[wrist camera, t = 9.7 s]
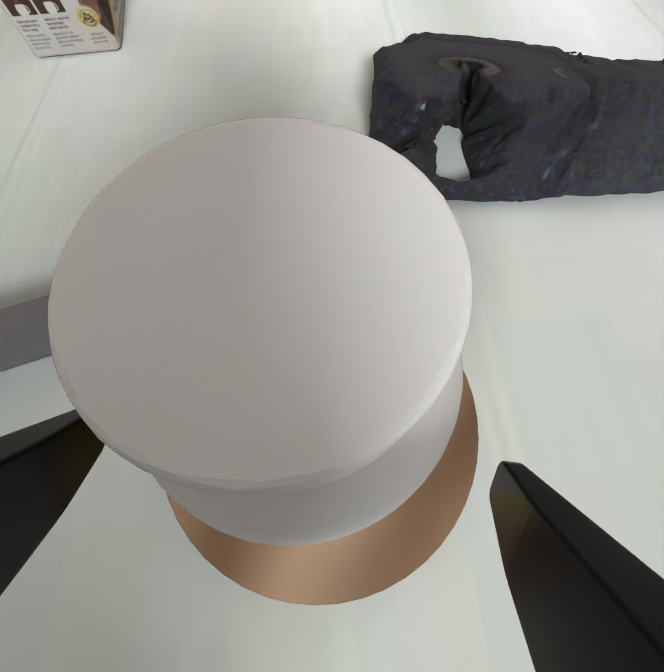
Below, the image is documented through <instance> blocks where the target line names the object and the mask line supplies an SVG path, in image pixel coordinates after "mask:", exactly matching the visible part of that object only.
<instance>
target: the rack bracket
mask: <svg viewBox="0 0 664 672" xmlns="http://www.w3.org/2000/svg"><path fill="white" fill-rule="evenodd" d="M49 296H50V295H48V296H45V297H42V298H38V299H35V300H32V301H28V302H25V303H22V304H18V305H15V306H12V307H8V308H5V309H2V310H0V372H1V371H4V370H7V369H10V368H13V367H16V366H20V365H23V364H26V363H29V362H32V361H35V360H38V359H41V358H45V357H48V356H51V355H52V351H51V347H50V338H49V328H48V302H49Z"/></svg>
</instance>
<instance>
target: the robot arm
mask: <svg viewBox="0 0 664 672" xmlns="http://www.w3.org/2000/svg"><path fill="white" fill-rule="evenodd" d="M104 444H105V443H103V442H102V441H101V440H100V439H99V438H98V437H97V436H96V435H95V434H94V432H93V431H92V430H91V429H90V428H89V426H88V425H87V424H86V423H85V422H84V420H83V419H82V418H81V417H80V415H79V414H78V412H77V410H76V409H75V410H72V411H70V412H67V413H64V414H61V415H59V416H56V417H53V418H51V419H48V420H45V421H43V422H40V423H37V424H34V425H32V426H29V427H26V428H24V429H21V430H18V431H15V432H13V433H10V434H7V435H5V436H2V437H0V596H1V595H2V593H3V592H4V591H5V589H6V588H7V587H8V585H9V584H10V583H11V581H12V580H13V579H14V577H15V576H16V575H17V573H18V572H19V571H20V569H21V568H22V567H23V565H24V564H25V563H26V562H27V560H28V559H29V558H30V556H31V555H32V554H33V552H34V551H35V550H36V548H37V547H38V546H39V544H40V543H41V542H42V540H43V539H44V538H45V536H46V535H47V534H48V532H49V531H50V530H51V528H52V527H53V526H54V524H55V523H56V522H57V520H58V519H59V518H60V516H61V515H62V513H63V512H64V510H65V509H66V507H67V506H68V504H69V503H70V501H71V500H72V498H73V497H74V495H75V493H76V492H77V490H78V489H79V487H80V485H81V484H82V482H83V481H84V479H85V477H86V476H87V474H88V473H89V471H90V469H91V468H92V466H93V465H94V463H95V461H96V460H97V458H98V457H99V455H100V453H101V452H102V450H103V447H104ZM490 503H491V508H492V513H493V518H494V523H495V528H496V532H497V537H498V542H499V547H500V552H501V557H502V562H503V566H504V570H505V574H506V578H507V581H508V585H509V588H510V591H511V595H512V598H513V601H514V604H515V607H516V611H517V614H518V617H519V620H520V623H521V627H522V630H523V633H524V636H525V639H526V643H527V646H528V649H529V652H530V655H531V659H532V662H533V665H534V668H535V671H536V672H664V579H663V578H662V577H660V576H659V575H658V574H657V573H656V572H654V571H653V570H652V569H651V568H649V567H648V566H647V565H646V564H644V563H643V562H642V561H641V560H640V559H638V558H637V557H636V556H635V555H633V554H632V553H631V552H630V551H629V550H627V549H626V548H625V547H624V546H622V545H621V544H620V543H619V542H618V541H616V540H615V539H614V538H613V537H611V536H610V535H609V534H608V533H606V532H605V531H604V530H603V529H602V528H600V527H599V526H598V525H597V524H595V523H594V522H593V521H592V520H591V519H589V518H588V517H587V516H586V515H584V514H583V513H582V512H581V511H580V510H578V509H577V508H576V507H575V506H573V505H572V504H571V503H570V502H568V501H567V500H566V499H565V498H564V497H562V496H561V495H560V494H559V493H557V492H556V491H555V490H554V489H553V488H551V487H550V486H549V485H548V484H546V483H545V482H544V481H543V480H541V479H540V478H539V477H538V476H537V475H535V474H534V473H533V472H532V471H530V470H529V469H528V468H527V467H526V466H524V465H523V464H521V463H517V462H509V461H502V462H500V464H499V465H498V467H497V470H496V473H495V476H494V479H493V482H492V485H491V488H490Z"/></svg>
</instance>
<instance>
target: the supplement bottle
mask: <svg viewBox="0 0 664 672" xmlns="http://www.w3.org/2000/svg"><path fill="white" fill-rule="evenodd" d="M471 307H472V271H471V265H470V260H469V255H468V251H467V247H466V244H465V240H464V237H463V235H462V233H461V230H460V228H459V225H458V223H457V220H456V218H455V216H454V215H453V213H452V211H451V209H450V207H449V206H448V204H447V202H446V200H445V198H444V197H443V195H442V194H441V193H440V192H439V191H438V189H437V188H436V187H435V186H434V185H433V184H432V183H431V181H430V180H429V179H428V178H427V177H426V176H425V175H424V174H423V173H422V172H421V171H420V170H419V169H418V168H417V167H415V166H414V165H413V164H412V163H411V162H410V161H409V160H408V159H406V158H405V157H404V156H402V155H400V154H399V153H397V152H396V151H394V150H392V149H391V148H389V147H388V146H386V145H385V144H383V143H381V142H379V141H377V140H374V139H372V138H370V137H368V136H366V135H363V134H361V133H358V132H356V131H353V130H351V129H347V128H344V127H341V126H337V125H333V124H328V123H324V122H319V121H313V120H306V119H299V118H284V117H261V118H251V119H243V120H235V121H230V122H225V123H220V124H216V125H213V126H210V127H207V128H204V129H201V130H198V131H195V132H192V133H189V134H186V135H183V136H181V137H179V138H176V139H174V140H172V141H170V142H168V143H166V144H164V145H162V146H160V147H158V148H157V149H155V150H153V151H151V152H149V153H148V154H146V155H144V156H142V157H141V158H139V159H138V160H136V161H135V162H134V163H133V164H131V165H130V166H129V167H127V168H126V169H125V170H124V171H122V172H121V173H120V174H118V175H117V176H116V177H115V178H114V179H113V180H112V181H111V182H110V183H109V184H108V185H107V186H106V187H105V188H104V189H103V190H102V191H101V192H100V193H99V194H98V195H97V196H96V198H95V199H94V200H93V201H92V202H91V203H90V205H89V206H88V207H87V208H86V210H85V211H84V212H83V214H82V216H81V218H80V219H79V221H78V223H77V225H76V227H75V228H74V230H73V231H72V233H71V235H70V236H69V238H68V240H67V242H66V244H65V247H64V249H63V251H62V254H61V257H60V259H59V262H58V265H57V268H56V271H55V274H54V276H53V279H52V284H51V290H50V296H49V302H48V328H49V338H50V347H51V351H52V356H53V360H54V364H55V368H56V371H57V374H58V377H59V379H60V381H61V383H62V386H63V388H64V390H65V392H66V394H67V396H68V398H69V400H70V401H71V403H72V404H73V406H74V407H75V409H76V410H77V412H78V414H79V415H80V417H81V418H82V419H83V420H84V422H85V423H86V424H87V425H88V426H89V428H90V429H91V430H92V431H93V432H94V434H95V435H96V436H97V437H98V438H99V439H100V440H101V441H102V442H103V443H105V444H106V445H107V446H108V447H109V448H111V449H112V450H113V451H114V452H116V453H117V454H119V455H120V456H121V457H123V458H124V459H126V460H128V461H129V462H131V463H132V464H134V465H136V466H137V467H139V468H141V469H142V470H144V471H146V472H149V473H151V474H153V476H154V477H155V479H156V480H157V482H158V483H159V484H160V485H161V487H162V488H163V489H164V490H165V491H166V492H167V493H168V494H169V495H170V496H171V497H172V498H173V499H174V501H176V502H177V503H178V504H179V505H180V506H182V507H183V508H184V509H185V510H187V511H188V512H189V513H190V514H192V515H193V516H194V517H196V518H197V519H199V520H201V521H202V522H204V523H206V524H207V525H209V526H211V527H213V528H215V529H217V530H218V531H220V532H223V533H226V534H228V535H231V536H233V537H236V538H239V539H242V540H246V541H249V542H254V543H261V544H269V545H280V546H298V545H309V544H317V543H322V542H326V541H330V540H335V539H338V538H341V537H344V536H348V535H350V534H353V533H355V532H357V531H360V530H362V529H364V528H366V527H368V526H370V525H372V524H374V523H376V522H378V521H380V520H381V519H383V518H384V517H386V516H387V515H389V514H390V513H391V512H393V511H394V510H396V509H397V508H398V507H399V506H400V505H401V504H403V503H404V502H405V501H406V500H407V499H408V498H409V497H410V496H411V495H412V494H413V493H414V492H415V491H416V490H417V489H418V488H419V487H420V486H421V485H422V484H423V483H424V481H425V480H426V479H427V477H428V476H429V475H430V473H431V472H432V470H433V469H434V467H435V466H436V464H437V463H438V461H439V460H440V458H441V457H442V455H443V453H444V451H445V449H446V446H447V444H448V442H449V440H450V437H451V435H452V433H453V430H454V427H455V424H456V421H457V417H458V413H459V408H460V403H461V396H462V390H463V367H462V354H461V351H462V348H463V345H464V341H465V338H466V334H467V331H468V328H469V321H470V314H471Z"/></svg>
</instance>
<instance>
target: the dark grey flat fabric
mask: <svg viewBox="0 0 664 672" xmlns="http://www.w3.org/2000/svg"><path fill="white" fill-rule="evenodd" d="M570 53H572V54H573V53H577V52H564V51H562V50H561V49H560V48H558V47H554V46H542V45H529V44H525V43H524V42H520V41H510V40H498V39H494V38H481V37H474V36H467V35H450V34H434V33H430V32H423V33H420V34H416V33H414V34H411V35H410V36H408V37H407V38H406V39H405V40H404V41H403V42H402V43H396V44H394V45H391V46H386V47H382V48H380V49H379V50H378V51H377V52H376V53H375V54H374V56H373V61H374V81H373V86H372V108H371V114H370V120H371V124H370V135H369V137H370V138H372V139H374V140H377V141H379V142H381V143H383V144H385V145H386V146H388V147H389V148H391V149H392V150H394V151H396V152H397V153H399V154H400V155H402V156H404V157H405V158H406V159H408V160H409V161H410V162H411V163H412V164H413V165H414V166H415V167H417V168H418V169H419V170H420V171H421V172H422V173H423V174H424V175H425V176H426V177H427V178H428V179H429V180H430V181H431V183H432V184H433V185H434V186H435V187H436V188H437V189H438V191H439V192H440V193H441V194H442V195H443V197H444V198H445V200H465V201H476V202H489V201H508V202H513V201H518V202H522V201H531V200H538V199H542V198H548V197H561V196H564V195H575V196H600V195H605V194H628V193H653V192H657V191H664V59H663V60H662V61H649V60H638V59H633V60H623V59H616V60H609V59H607V58H602V57H593V56H588V55H582V54H581V52H580V53H578V55H572V54H570ZM569 54H570V55H569ZM443 124H444V126H447V125H449V126H451V127H454V128H459V129H460V130H461V132H462V134H463V136H464V141H463V143H462V151H463V155H464V158H465V161H466V164H467V167H468V169H469V172H470V176H471V179H470V180H469V181H466V182H457V181H453V180H451V179H448V178H444V177H439V176H438V175H436V168H437V165H436V153H437V146H436V145H435V143H434V142H433V140H435V139H436V135H437V133H438V132H439V130H440V129H441V127H442V125H443Z"/></svg>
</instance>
